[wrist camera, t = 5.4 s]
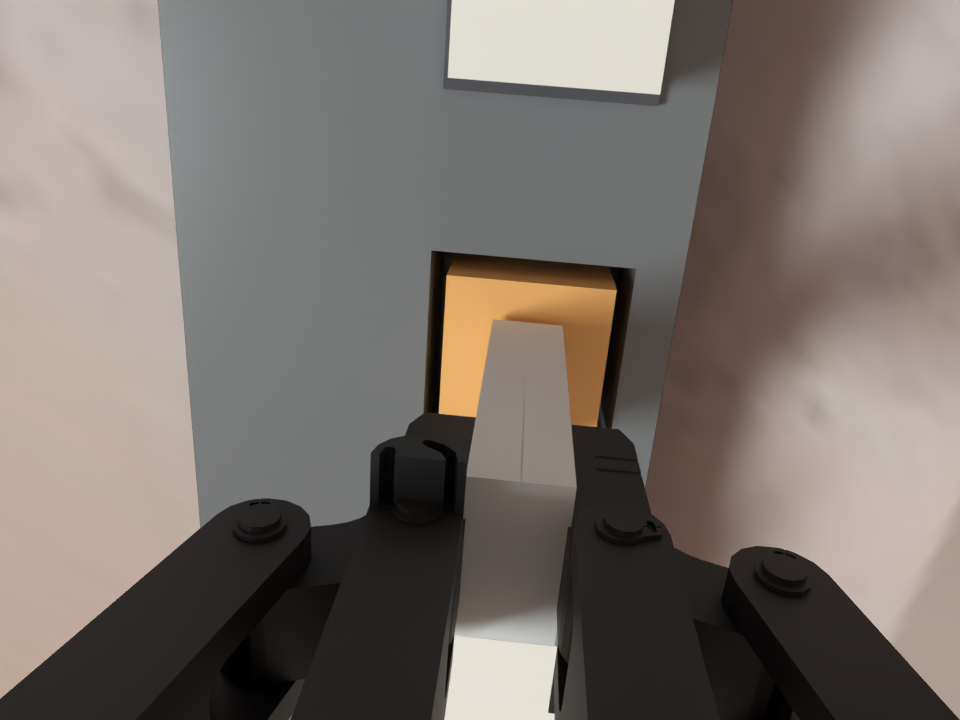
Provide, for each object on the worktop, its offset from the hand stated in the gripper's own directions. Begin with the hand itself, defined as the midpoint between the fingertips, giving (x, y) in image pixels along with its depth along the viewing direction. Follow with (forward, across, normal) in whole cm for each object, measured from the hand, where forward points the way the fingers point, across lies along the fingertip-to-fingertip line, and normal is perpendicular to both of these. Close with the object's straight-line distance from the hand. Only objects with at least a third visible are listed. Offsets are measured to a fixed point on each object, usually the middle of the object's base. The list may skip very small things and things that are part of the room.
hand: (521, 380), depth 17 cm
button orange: (+4, 0, 0) cm, 4 cm away
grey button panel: (+5, -3, 0) cm, 5 cm away
